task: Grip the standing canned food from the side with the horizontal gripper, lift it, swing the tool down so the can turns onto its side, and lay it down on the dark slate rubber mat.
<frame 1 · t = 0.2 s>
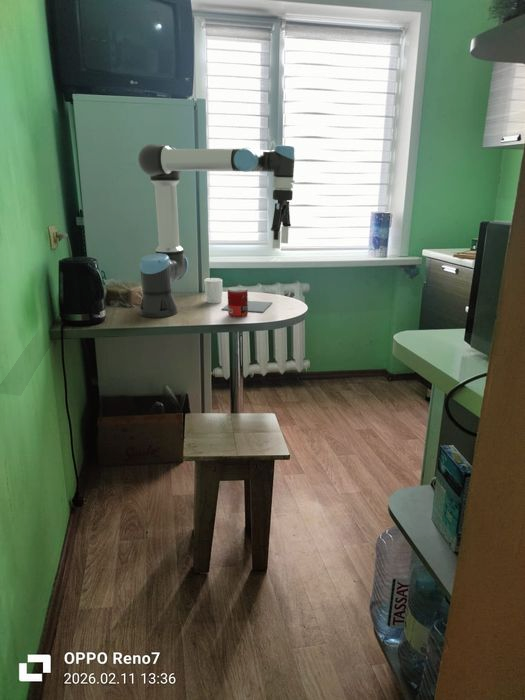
hand: (280, 245, 195), 27 cm above the table, tool pointing down, fingers open, 13 cm apart
slate mat: (247, 306, 212), on the table
canned food: (238, 315, 200), on the table
white cup: (214, 302, 221), on the table
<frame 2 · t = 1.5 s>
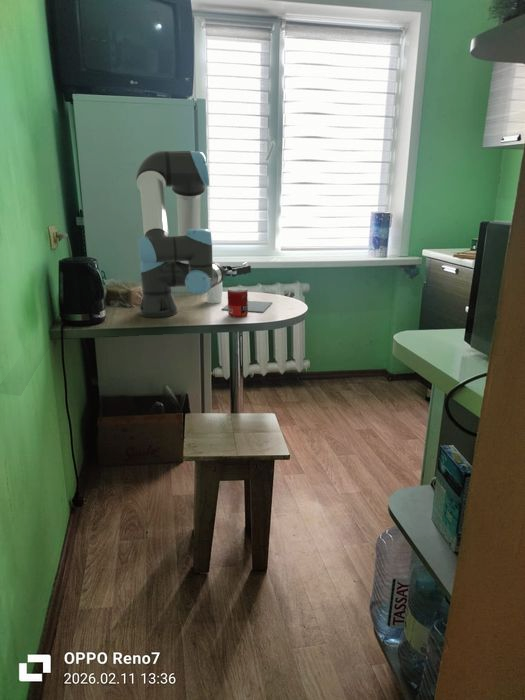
hand: (229, 264, 183), 22 cm above the table, tool horizontal, fingers open, 13 cm apart
nothing on the table moved.
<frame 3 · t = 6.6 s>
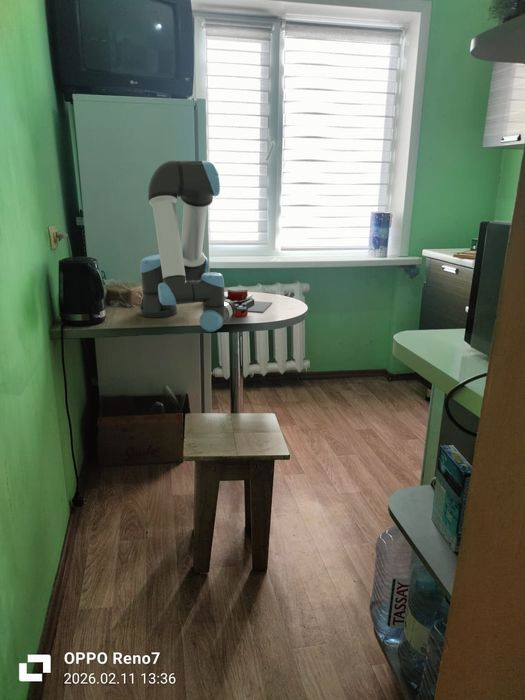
hand: (241, 296, 202), 7 cm above the table, tool horizontal, fingers closed on canned food, 8 cm apart
canned food: (238, 315, 200), on the table, touching gripper
everything else where it was.
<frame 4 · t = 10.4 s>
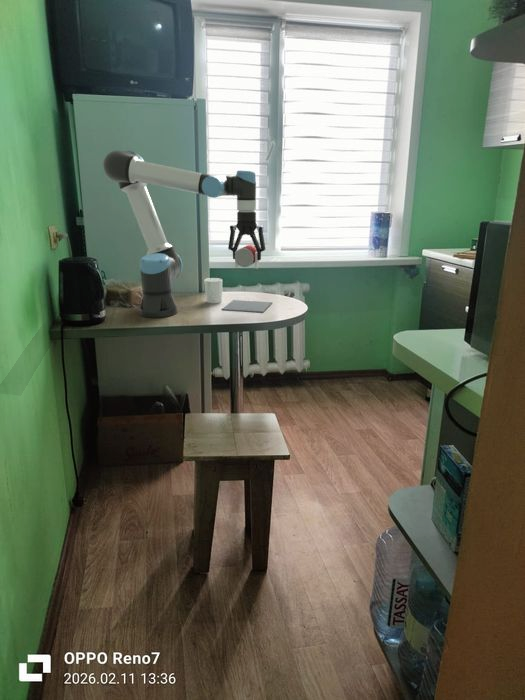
hand: (246, 267, 206), 17 cm above the table, tool pointing down, fingers closed on canned food, 8 cm apart
canned food: (251, 253, 211), point 22 cm above the table, touching gripper
everything else where it was.
when the fingers open (4 cm above the table, at t = 13.4 s): canned food drops 4 cm, resting on slate mat.
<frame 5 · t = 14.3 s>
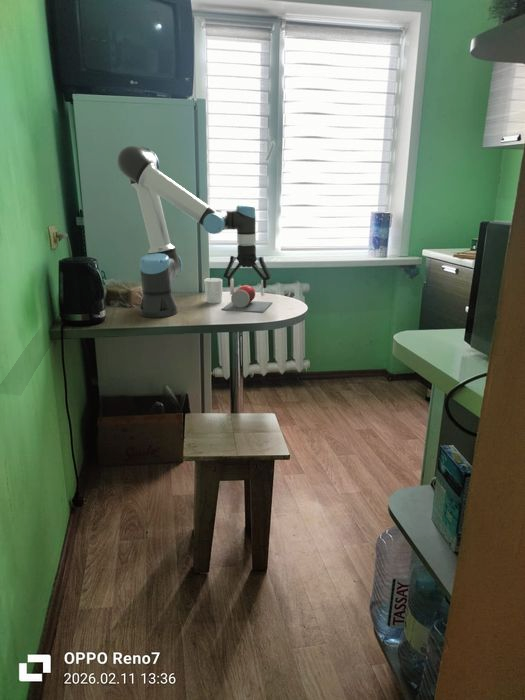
hand: (247, 294, 211), 5 cm above the table, tool pointing down, fingers open, 13 cm apart
canned food: (247, 293, 217), point 4 cm above the table, touching slate mat
everything else where it was.
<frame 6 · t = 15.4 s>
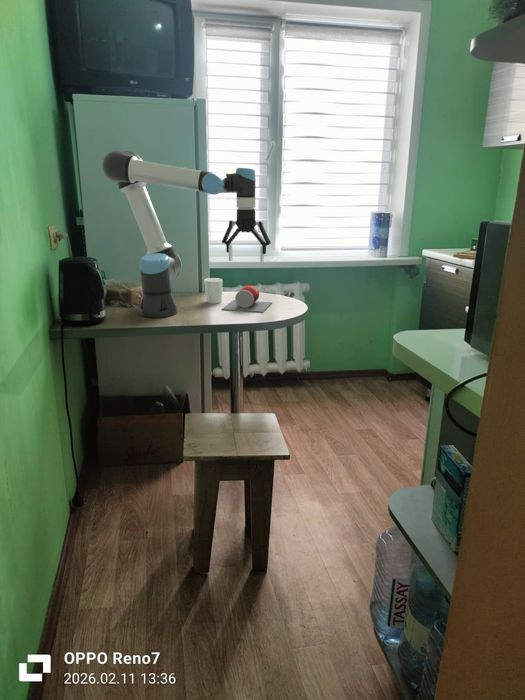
hand: (246, 261, 206), 19 cm above the table, tool pointing down, fingers open, 13 cm apart
canned food: (251, 293, 217), point 4 cm above the table, touching slate mat
everything else where it was.
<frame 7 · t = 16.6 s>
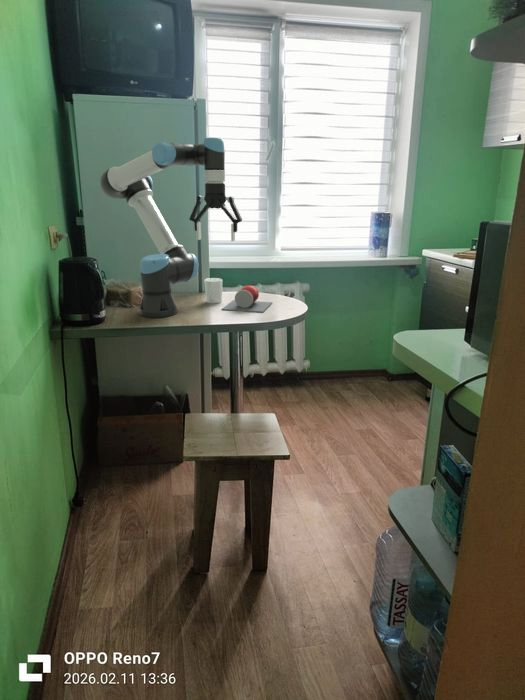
hand: (216, 240, 192), 30 cm above the table, tool pointing down, fingers open, 13 cm apart
nothing on the table moved.
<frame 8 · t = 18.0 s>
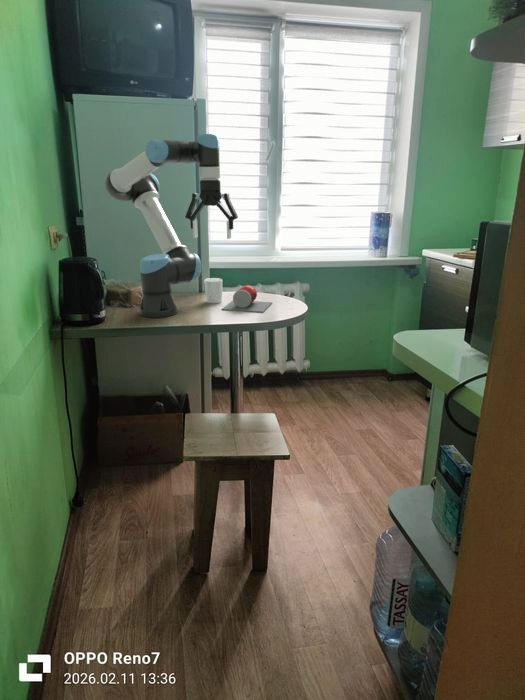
hand: (212, 238, 190), 31 cm above the table, tool pointing down, fingers open, 13 cm apart
at the end: canned food tilted 90°; canned food touching slate mat; the gripper is holding nothing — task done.
